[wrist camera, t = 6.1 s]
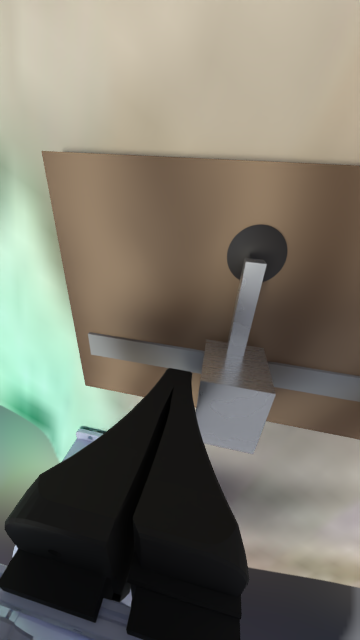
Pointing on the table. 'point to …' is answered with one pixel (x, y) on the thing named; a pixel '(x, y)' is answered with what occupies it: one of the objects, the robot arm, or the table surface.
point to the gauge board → (214, 272)
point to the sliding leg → (236, 375)
